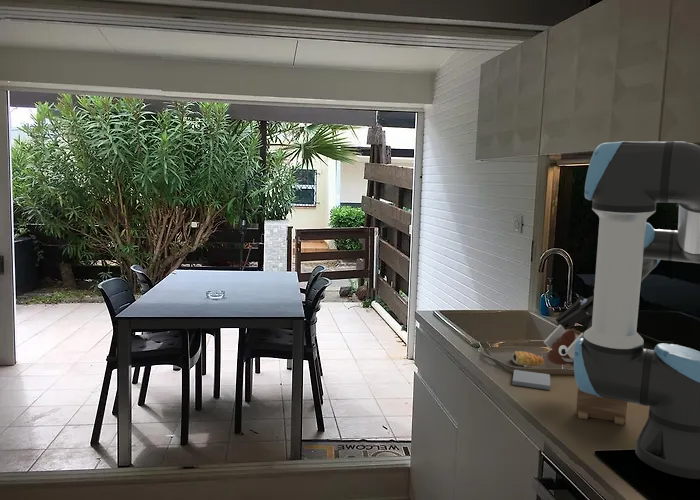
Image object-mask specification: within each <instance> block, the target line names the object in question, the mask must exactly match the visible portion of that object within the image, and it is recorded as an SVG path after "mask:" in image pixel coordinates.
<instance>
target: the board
mask: <svg viewBox="0 0 700 500" xmlns="http://www.w3.org/2000/svg"><path fill="white" fill-rule="evenodd" d="M511 384H512V385H513V386H518V387H519V386H520V387H527V388H533V389H540V390H547V391H550V390H551V375H550V374H548V373H542V372H541V373H540V372H536V371H534V372H533V371H527V370H519V369H514V370H513V375H512V382H511Z"/></svg>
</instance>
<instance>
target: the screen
mask: <svg viewBox="0 0 700 500" xmlns="http://www.w3.org/2000/svg"><path fill="white" fill-rule="evenodd" d="M576 392H577V393H576V403H575V416H577V418H578V419H583V420H588V418H592V419H593V418H594V419H600V420H606V421H613V423H614V424H615V425H621V426H624V425H625V423H626V418H627V408H628V402H625V401H620V400H615V399H610V398H605V397H598V396H596V395H593V394H589V393H585V392H583V391H581V390H580V389H579V387H578V386H577V391H576Z"/></svg>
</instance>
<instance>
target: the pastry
mask: <svg viewBox="0 0 700 500" xmlns="http://www.w3.org/2000/svg"><path fill="white" fill-rule="evenodd" d="M511 356H512V357H511V358H512V359H511V360H512V362H513V363H514V364H515V365H517V366H519V367H520V366H522V367H523V366H527V367H540V366H544V364H545V361H544V358H543V357H542V356H540V355H539V354H537V355H536V354H535V353H533V352H528V351H521V350H519V351H516V350H515V351H514V352H513V353H512V355H511Z"/></svg>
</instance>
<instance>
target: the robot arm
mask: <svg viewBox="0 0 700 500" xmlns="http://www.w3.org/2000/svg"><path fill="white" fill-rule="evenodd" d="M588 164H589V165H588V168H587V173H586V177H585V183H584V198H585V199H586V200H588V201H592V202H591V203H592V207H591V210H592V211H593V212H594V213H595V214H596V215H597V216H598V218H599V220H598V221H599V224H598V236H597V248H596V249H597V250H596V263H595V277H594V288H593V290H592V291H593V294H592V295H590V297H588V298H584V297H583V296H582V295H581V296H579V297H578V298H577V299H576V301H575V302H574V303H573V304H572V305H570V306H569V307H568V308H567V309H566V310H565V311H563V312H562V313H561V314H560V315H559V316H558V317H557V318H555V321H556V323H557V325H556V326H555V328H554V329H553V330H552V331H551V332H550V334H549V335H548V337H546V338H545V340H544V341H543V343H544V345H545V346H546V347H547V348H548V349H550V350H552V345H553V343H555V342H557V340H558V338H561V336H562V334H563V333H565V332H566V331H568V329H569V328H571V327H573V326H574V325H576V324H577V323H578V322H581V321H582V320H584V319H585V318H590V317H591V318H590V320H589V323H588V325H587V328H586V330H583V332H581V333H580V334H579V335H578V336H577V337H575V338H576V340H575V341H574V342H573V343H572V344H571V345H570V346H569V347H568V348H567V349H566V350H565V352H566V353H567V354H568V355H569V357H570V358H572V359H573V358H574V366H573V371H574V381H575V384H576V386H577V388H578V387H579V389H580V390H581V391H583V392H585V393H589V394H593V395H596V396H598V397H605V398H610V399H615V400H620V401H625V402H627V403H631V404H636V405H640V406H646V407H648V417H647V420H646V421H645V424H644V426H643V427H642V429H641V431H640V432H639V435H638V437H637V439H636V442H635V455H636V456H637V458H638V459H639V460H640V461H642V462H643V463H644V464H645V465H647V466H649V467H652V468H653V469H655V470H657V471H660V472H663V473H666V474H669V475H672V476H675V477H680V478H685V479H693V480H700V351H699V350H696V349H694V348H691V347H687V346H683V345H680V344H674V343H666V342H665V343H663V342H662V343H657V344H656V345H655V347H654V349H648V348H644V345H645V344H644V338H643V337H642V336H641V335H640V334H639V333H638V332H637V328H638V318H639V309H640V307H639V306H640V296H641V295H640V294H641V293H640V292H641V283H642V282H643V280H644V279H646V277H647V276H648V275H649V274H650V273H651V272H652V271H653V270H654V269H655V268H656V267H657V266H658V265H659V263H660V262H661V260H662V261H671V262H680V263H681V262H683V263H693V264H700V145H698V144H695V143H692V142H687V141H624V140H621V141H612V142H611V141H610V142H603V143H600V144H598V146H597V147H595V149H594V150H593V152H592V156H591V158H590V162H589V163H588ZM657 203H664V204H665V203H666V204H668V203H671V204H672V203H673V204H677V205H678V217H677V219H678V221H677V222H678V223H677V230H671V229H660V228H658V229H655V228H654V227H653V226H652V224H651V223H650V222H647V221H648V219H649V217H651V216H652V215H654V214H656V211H657Z"/></svg>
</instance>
